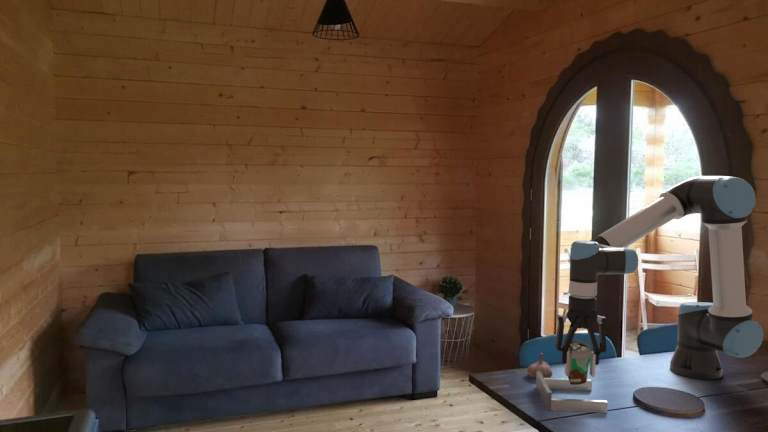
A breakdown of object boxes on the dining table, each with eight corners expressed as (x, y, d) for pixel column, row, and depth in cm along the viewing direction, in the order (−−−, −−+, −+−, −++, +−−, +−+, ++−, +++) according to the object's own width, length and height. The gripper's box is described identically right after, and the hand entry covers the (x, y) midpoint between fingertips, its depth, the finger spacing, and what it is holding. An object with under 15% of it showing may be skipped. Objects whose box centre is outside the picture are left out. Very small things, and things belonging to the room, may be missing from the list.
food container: (593, 388, 164) (595, 352, 163) (570, 386, 165) (572, 351, 165) (587, 373, 176) (589, 340, 175) (566, 371, 177) (567, 338, 177)
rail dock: (590, 389, 179) (591, 373, 179) (607, 412, 162) (607, 395, 162) (536, 387, 181) (536, 371, 180) (546, 410, 164) (547, 392, 163)
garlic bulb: (556, 378, 188) (557, 354, 188) (540, 382, 185) (540, 357, 184) (539, 371, 195) (539, 347, 194) (522, 375, 191) (523, 351, 191)
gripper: (613, 293, 172) (610, 371, 174) (545, 291, 173) (542, 369, 175) (621, 299, 164) (618, 380, 166) (550, 297, 166) (547, 378, 168)
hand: (579, 374), depth 171 cm, fingers closed on food container, 6 cm apart
